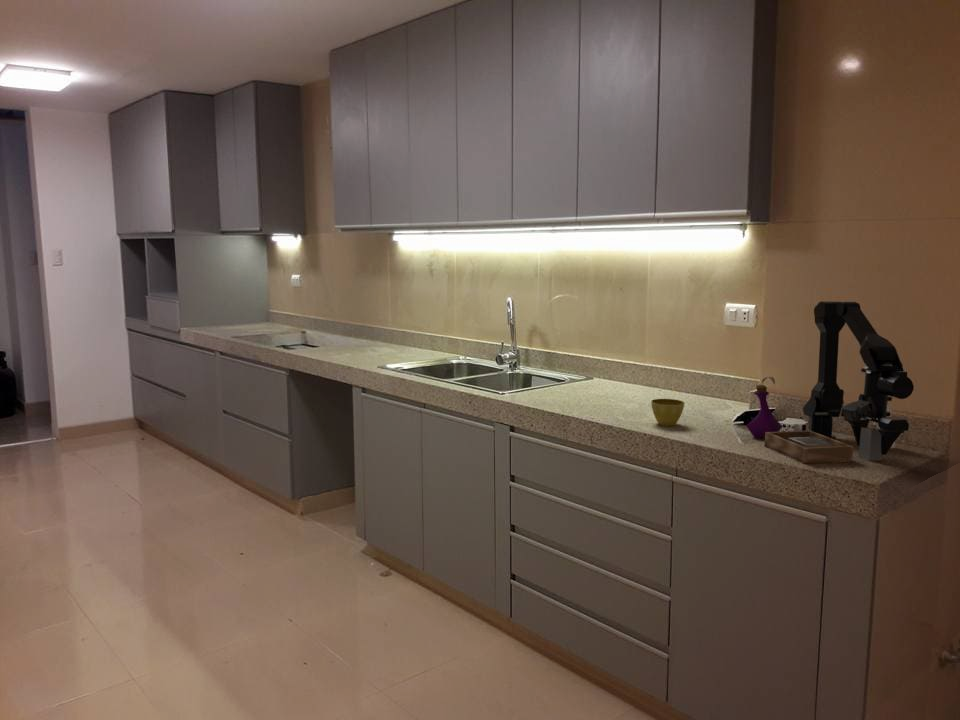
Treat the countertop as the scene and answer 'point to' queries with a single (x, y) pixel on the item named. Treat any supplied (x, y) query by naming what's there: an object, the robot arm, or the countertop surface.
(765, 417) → the perfume bottle
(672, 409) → the flower pot
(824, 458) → the walnut box
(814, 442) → the collar
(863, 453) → the grey box with knob
